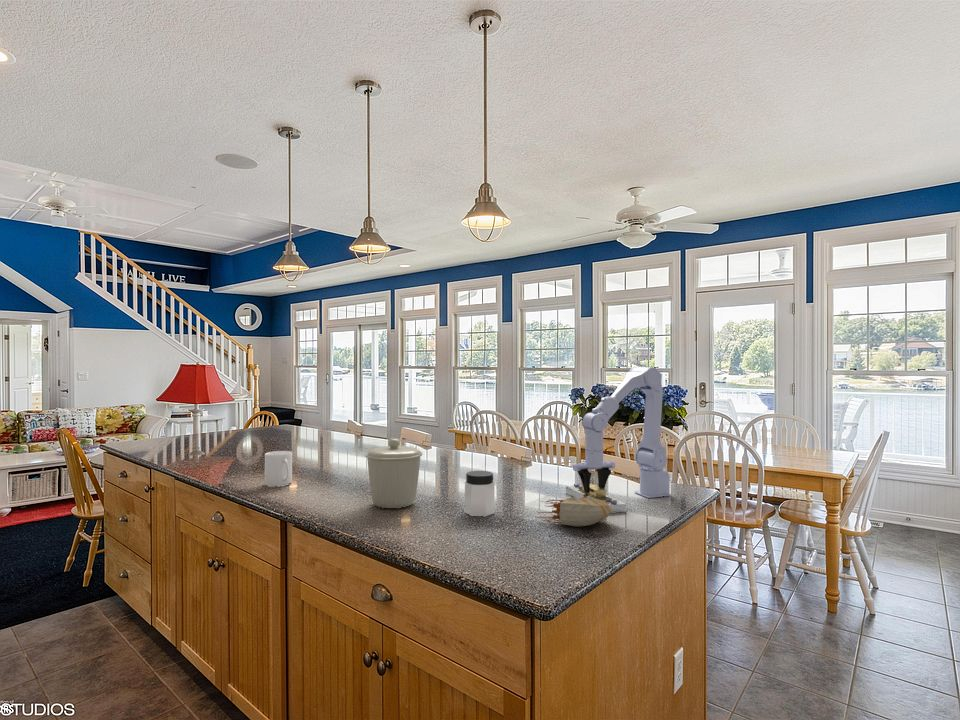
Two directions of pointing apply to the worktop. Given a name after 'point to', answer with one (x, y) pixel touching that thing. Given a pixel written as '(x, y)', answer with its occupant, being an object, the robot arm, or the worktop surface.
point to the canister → (393, 474)
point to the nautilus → (578, 511)
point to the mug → (278, 468)
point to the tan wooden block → (596, 492)
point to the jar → (479, 493)
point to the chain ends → (577, 493)
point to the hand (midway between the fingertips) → (594, 491)
